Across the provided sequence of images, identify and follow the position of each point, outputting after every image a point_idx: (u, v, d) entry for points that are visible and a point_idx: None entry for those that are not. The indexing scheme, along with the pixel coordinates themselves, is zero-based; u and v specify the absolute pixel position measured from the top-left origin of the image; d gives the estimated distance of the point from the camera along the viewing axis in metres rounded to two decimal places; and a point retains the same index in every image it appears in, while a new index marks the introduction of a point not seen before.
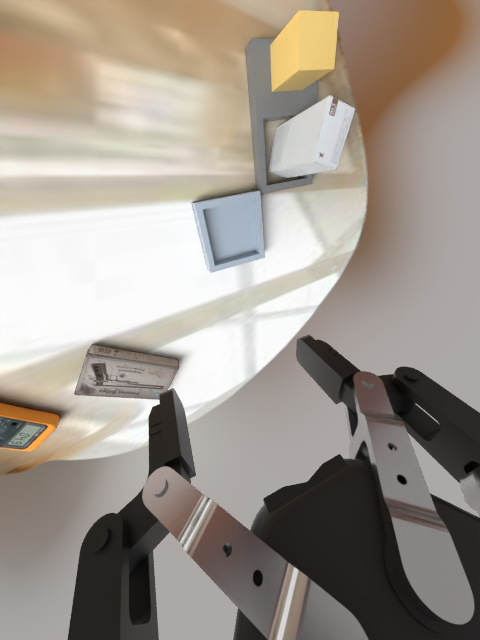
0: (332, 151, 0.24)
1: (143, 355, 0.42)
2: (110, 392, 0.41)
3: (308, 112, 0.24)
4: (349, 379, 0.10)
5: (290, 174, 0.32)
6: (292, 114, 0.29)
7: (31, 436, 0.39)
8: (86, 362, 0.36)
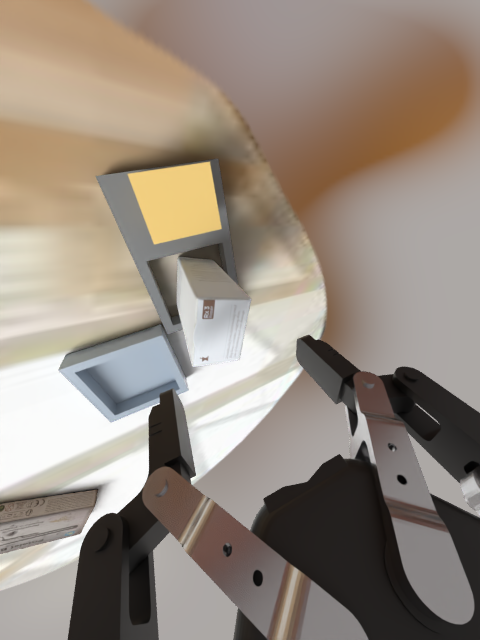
0: (223, 350, 0.16)
1: (43, 501, 0.33)
2: None
3: (187, 288, 0.16)
4: (349, 379, 0.10)
5: None
6: (193, 248, 0.21)
7: None
8: None
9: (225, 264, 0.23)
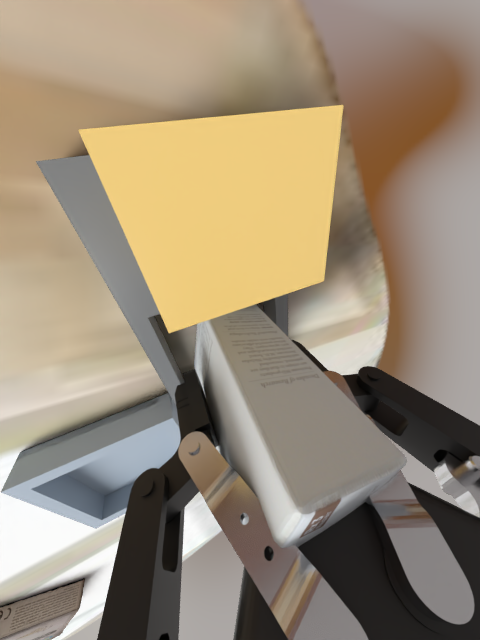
0: None
1: (9, 611, 0.25)
2: None
3: (239, 404, 0.07)
4: None
5: None
6: None
7: None
8: None
9: (272, 308, 0.15)
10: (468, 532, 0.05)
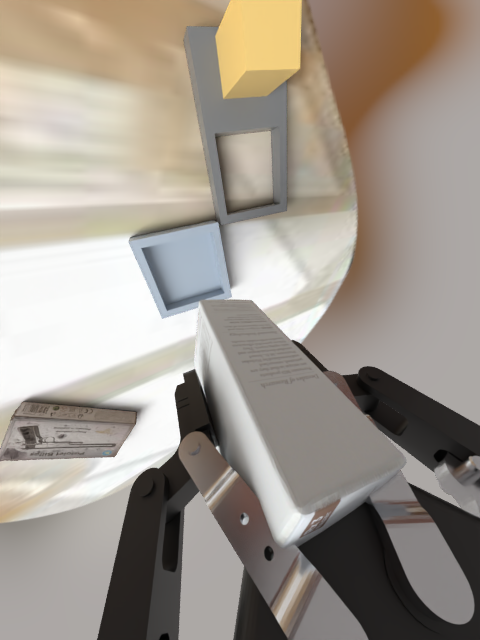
0: None
1: (91, 410, 0.35)
2: (45, 454, 0.34)
3: (238, 405, 0.07)
4: None
5: None
6: (254, 127, 0.23)
7: None
8: (11, 426, 0.29)
9: (278, 155, 0.25)
10: (468, 532, 0.05)
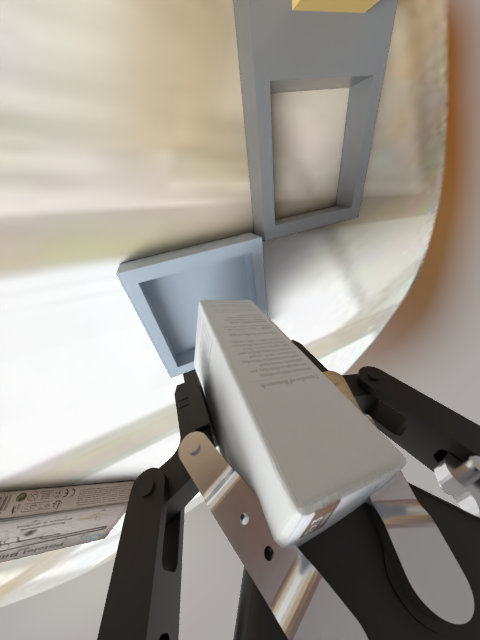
0: None
1: (74, 491, 0.26)
2: (6, 556, 0.24)
3: (238, 405, 0.07)
4: None
5: None
6: (335, 75, 0.13)
7: None
8: None
9: (360, 127, 0.16)
10: (468, 532, 0.05)
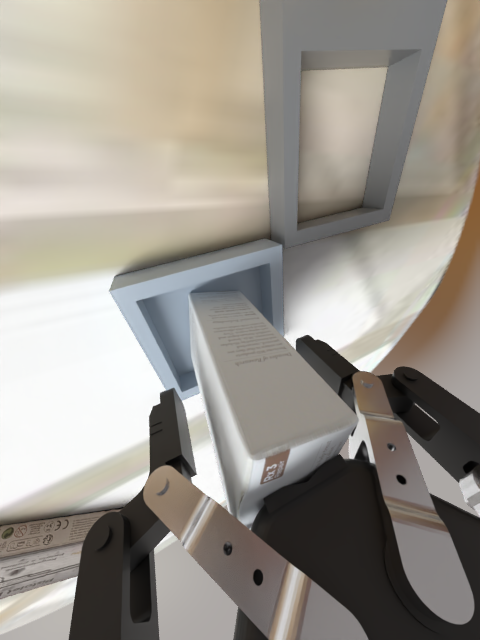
0: None
1: (67, 522, 0.23)
2: None
3: (215, 382, 0.08)
4: (348, 379, 0.10)
5: None
6: (379, 47, 0.11)
7: None
8: None
9: (399, 115, 0.13)
10: (474, 530, 0.05)
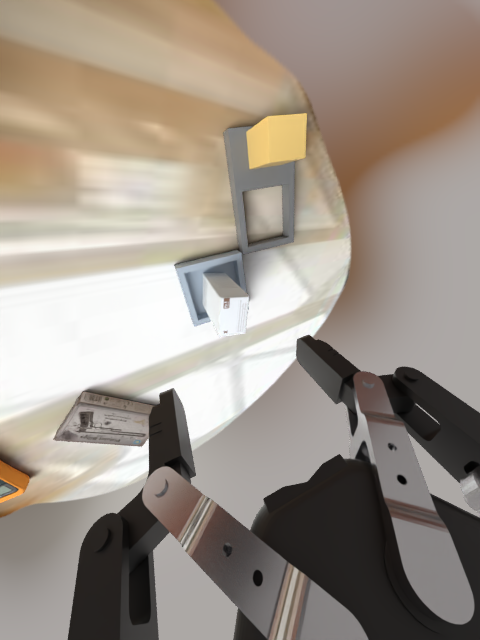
0: (235, 326, 0.28)
1: (132, 403, 0.42)
2: (91, 438, 0.41)
3: (213, 292, 0.28)
4: (349, 379, 0.10)
5: None
6: (270, 186, 0.31)
7: None
8: (75, 410, 0.36)
9: (287, 202, 0.33)
10: (475, 530, 0.05)
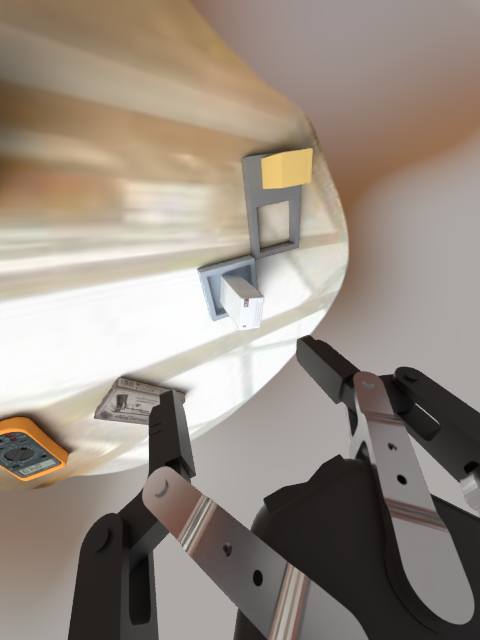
0: (252, 321, 0.34)
1: (158, 388, 0.49)
2: (123, 418, 0.47)
3: (233, 293, 0.34)
4: (349, 379, 0.10)
5: None
6: (280, 201, 0.36)
7: (40, 469, 0.45)
8: (113, 393, 0.43)
9: (294, 214, 0.39)
10: (474, 530, 0.05)
